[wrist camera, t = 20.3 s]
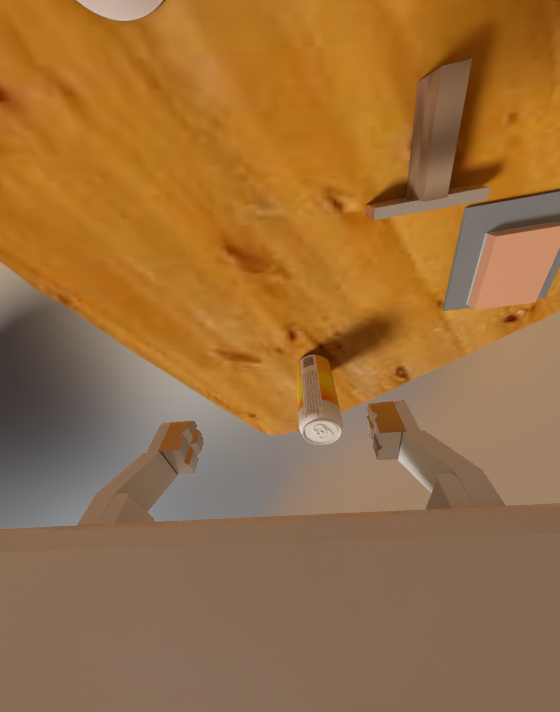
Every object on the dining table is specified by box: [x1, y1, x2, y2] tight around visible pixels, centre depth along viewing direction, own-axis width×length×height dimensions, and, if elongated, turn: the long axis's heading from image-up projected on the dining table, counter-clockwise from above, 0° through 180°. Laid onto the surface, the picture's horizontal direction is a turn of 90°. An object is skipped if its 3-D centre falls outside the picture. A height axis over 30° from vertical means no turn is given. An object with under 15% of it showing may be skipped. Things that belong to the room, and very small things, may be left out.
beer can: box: [296, 354, 343, 445], centre depth 41 cm, size 6×6×15 cm
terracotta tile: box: [466, 222, 560, 310], centre depth 34 cm, size 2×8×10 cm
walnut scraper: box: [366, 59, 490, 220], centre depth 26 cm, size 11×12×5 cm
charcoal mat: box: [443, 191, 560, 311], centre depth 35 cm, size 14×14×1 cm
